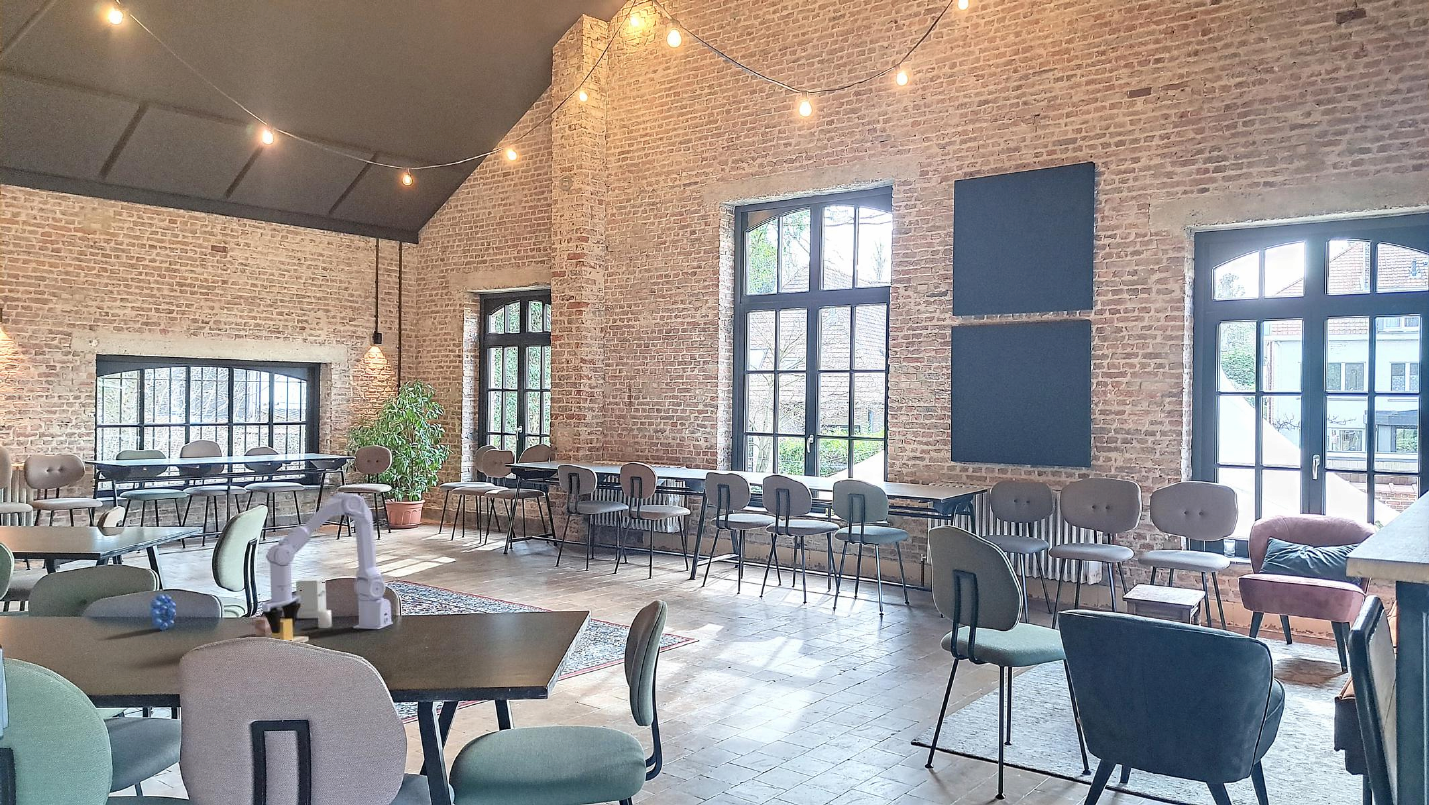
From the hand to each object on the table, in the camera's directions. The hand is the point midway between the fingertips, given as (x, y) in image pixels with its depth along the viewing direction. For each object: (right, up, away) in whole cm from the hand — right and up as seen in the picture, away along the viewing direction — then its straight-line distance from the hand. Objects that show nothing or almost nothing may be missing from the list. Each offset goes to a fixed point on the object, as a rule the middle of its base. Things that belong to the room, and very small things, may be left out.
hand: (282, 630), depth 304 cm
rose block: (-12, -4, +14) cm, 19 cm away
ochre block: (0, -3, 0) cm, 3 cm away
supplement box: (-6, -4, +38) cm, 39 cm away
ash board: (0, -4, 0) cm, 4 cm away
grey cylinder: (+4, -4, +22) cm, 22 cm away
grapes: (-47, -5, +23) cm, 53 cm away
